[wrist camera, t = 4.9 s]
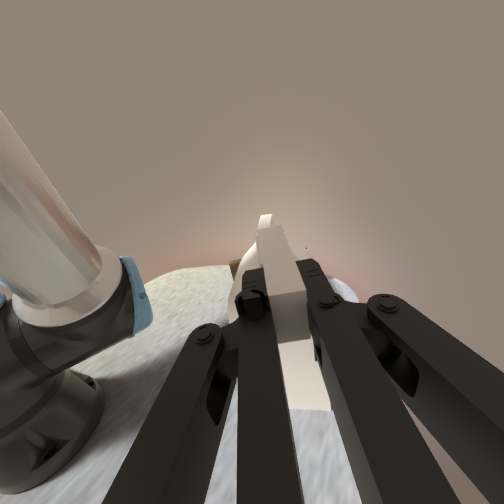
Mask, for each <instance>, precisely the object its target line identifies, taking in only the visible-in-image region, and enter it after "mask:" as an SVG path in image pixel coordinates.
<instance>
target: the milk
mask: <svg viewBox="0 0 504 504" xmlns="http://www.w3.org/2000/svg"><path fill="white" fill-rule="evenodd" d="M274 226H275V224H274V221H273V217H272V214H267V215H261V217H260V220H259V224H258V228H257V232H256V235H255V239H256V243H255V244H254V245H253V246H252V247H251V248H250V249H249V250H248V251H247V253H246V254H245V256H244V257H243V259H242V260H241V262H240V264H239V267H238V270H237V273H236V276H235V280H234V283H233V286H232V289H231V292H230V295H229V298H228V308H227V314H228V319H229V324H230V323H232V322H234V321H235V320H236V319H237V318H238V317H239V316H238V312H237V309H236V305H235V302H234V301H235V297H236V296H237V295H238V294H239V293H240V292H241V291H242V276H243V274H244V272H245V271H246V270H252V269H258V268H263V261H262V254H261V248H260V241H259V234H258V229H264V228H269V227H274ZM286 239H287V241H288V244H289V246H290V249H291V252H292V254H293V257H294V259H295V261H299V260H304V259H310V258H312V259H313V256H312V255H311V253H310V252H309V251H308V250H307V249H306V248H304V247H303V246H302V245H300V244H298V243H296V242H295V241H293V240H292V239H290V238H288V237H287V236H286ZM310 334H311V333H310ZM278 348H279V353H280V359H281V365H282V371H283V377H284V383H285V389H286V395H287V401H288V407H289V409H307V410H330V411H331V405H330V399H329V396H328V393H327V390H326V386H325V383H324V380H323V377H322V374H321V371H320V367H319V364H318V361H315V356H314V345H313V339H312V336H311V339H306V340H300V341H294V342H287V343H281V344H278Z"/></svg>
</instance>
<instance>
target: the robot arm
mask: <svg viewBox="0 0 504 504" xmlns="http://www.w3.org/2000/svg"><path fill="white" fill-rule="evenodd" d="M258 234H259V241H260V248H261V254H262V261H263V268H258V269H252V270H246V271H245V272H244V274H243V276H242V291H241V292H240V293H239V294H238V295H237V296H236V297H235V301H234V302H235V305H236V309H237V312H238V316H239V317H238V318H237V319H236V320H235V321H234V322H232V323H230V324H229V325H226V326H224V327H222V328H220V327H219V326H218V325H216V324H212V323H209V324H203V325H201V326H199V327H197V328H196V329H195V330H193V331H192V333H191V334H190V335H189V337H188V339H187V341H186V343H185V345H184V347H183V348H182V350H181V352H180V354H179V356H178V358H177V360H176V362H175V364H174V366H173V368H172V370H171V372H170V373H169V375H168V377H167V379H166V381H165V383H164V385H163V387H162V389H161V391H160V393H159V395H158V397H157V398H156V400H155V402H154V404H153V406H152V408H151V410H150V412H149V414H148V416H147V418H146V420H145V421H144V423H143V425H142V427H141V429H140V431H139V433H138V435H137V437H136V439H135V441H134V443H133V445H132V446H131V448H130V450H129V452H128V454H127V456H126V458H125V460H124V462H123V464H122V466H121V468H120V470H119V471H118V473H117V475H116V477H115V479H114V481H113V483H112V485H111V487H110V489H109V491H108V493H107V494H106V496H105V498H104V500H103V502H102V504H204V502H205V498H206V494H207V491H208V487H209V483H210V479H211V475H212V471H213V468H214V464H215V460H216V456H217V452H218V448H219V445H220V441H221V437H222V433H223V429H224V425H225V422H226V418H227V414H228V410H229V406H230V402H231V399H232V395H233V391H234V387H235V383H236V378H237V377H238V427H237V504H305V502H304V496H303V490H302V484H301V478H300V472H299V466H298V461H297V455H296V449H295V443H294V437H293V431H292V425H291V419H290V413H289V407H288V401H287V395H286V389H285V383H284V377H283V371H282V365H281V359H280V353H279V348H278V344H281V343H287V342H294V341H300V340H306V339H311V336H312V339H313V345H314V356H315V361H318V364H319V367H320V371H321V374H322V377H323V380H324V383H325V386H326V390H327V393H328V396H329V399H330V402H331V405H332V409H333V412H334V415H335V418H336V421H337V425H338V428H339V431H340V434H341V437H342V440H343V444H344V447H345V450H346V453H347V456H348V460H349V463H350V466H351V469H352V472H353V475H354V479H355V482H356V485H357V488H358V491H359V494H360V498H361V501H362V504H461V503H460V501H459V500H458V498H457V496H456V495H455V493H454V491H453V489H452V487H451V486H450V484H449V482H448V481H447V479H446V477H445V476H444V473H443V472H442V470H441V468H440V467H439V465H438V463H437V461H436V460H435V458H434V456H433V454H432V453H431V451H430V449H429V447H428V446H427V444H426V442H425V440H424V439H423V437H422V435H421V433H420V432H419V430H418V428H417V427H416V425H415V423H414V421H413V419H412V418H411V416H410V414H409V412H408V411H407V409H406V407H405V405H404V404H403V402H402V401H401V399H402V400H403V401H404V402H405V404H406V405H407V406H408V407H409V408H410V410H411V411H412V412H413V413H414V414H415V415H416V416H417V418H418V419H419V420H420V421H421V422H422V423H423V425H424V426H425V427H426V428H427V429H428V431H429V432H430V433H431V434H432V435H433V437H434V438H435V439H436V440H437V441H438V442H439V444H440V445H441V446H442V447H443V448H444V450H445V451H446V452H447V453H448V454H449V455H450V457H451V458H452V459H453V460H454V461H455V462H456V464H457V465H458V466H459V467H460V468H461V470H462V471H463V472H464V473H465V474H466V475H467V477H468V478H469V479H470V480H471V481H472V482H473V484H474V485H475V486H476V487H477V488H478V489H479V491H480V492H481V493H482V494H483V495H484V497H485V498H486V499H487V500H488V501H489V503H490V504H504V373H503V372H502V371H500V370H499V369H497V368H496V367H495V366H493V365H492V364H491V363H489V362H488V361H486V360H485V359H484V358H482V357H481V356H480V355H478V354H477V353H475V352H474V351H473V350H471V349H470V348H469V347H467V346H466V345H464V344H463V343H462V342H460V341H459V340H458V339H456V338H455V337H453V336H452V335H451V334H449V333H448V332H446V331H445V330H444V329H442V328H441V327H440V326H438V325H437V324H435V323H434V322H433V321H431V320H430V319H429V318H427V317H426V316H424V315H423V314H422V313H420V312H419V311H418V310H416V309H415V308H414V307H412V306H410V305H409V304H408V303H407V302H405V301H404V300H402V299H400V298H399V297H397V296H394V295H390V294H377V295H374V296H372V297H370V298H369V300H368V302H367V304H366V303H354V302H348V301H345V300H344V299H343V298H342V297H341V296H340V295H338V294H337V293H335V292H334V291H333V289H332V287H331V285H330V284H329V282H328V280H327V278H326V276H325V275H324V273H323V271H322V270H321V267H320V265H319V263H318V262H316V261H315V260H313V259H312V258H310V259H304V260H299V261H295V259H294V257H293V254H292V252H291V249H290V246H289V244H288V241H287V239H286V236H285V233H284V231H283V228H282V226H281V225H280V226H274V227H269V228H264V229H258ZM0 284H1V285H3V286H4V287H5V288H7V289H8V290H10V291H11V292H13V298H12V299H10V300H6V296H5V295H4V294H1V293H0V493H1V494H16V493H20V492H23V491H26V490H28V489H31V488H33V487H35V486H36V485H38V484H40V483H42V482H43V481H45V480H46V479H48V478H49V477H51V476H52V475H53V474H55V473H56V472H57V471H59V470H60V469H61V468H62V467H63V466H64V465H65V464H67V463H68V462H69V461H70V460H71V459H72V458H73V457H74V456H75V455H76V453H77V452H78V451H79V450H80V449H81V448H82V446H83V445H84V444H85V443H86V441H87V440H88V439H89V437H90V436H91V434H92V433H93V431H94V429H95V428H96V426H97V424H98V422H99V420H100V417H101V415H102V412H103V409H104V404H105V395H104V391H103V389H102V388H101V386H100V385H99V384H98V383H97V381H96V380H95V379H93V378H92V377H90V376H88V375H85V374H83V373H80V372H78V371H75V370H73V369H70V367H72V366H74V365H76V364H78V363H80V362H82V361H84V360H86V359H88V358H90V357H92V356H94V355H96V354H98V353H100V352H101V351H103V350H105V349H107V348H109V347H111V346H113V345H115V344H117V343H119V342H121V341H123V340H125V339H127V338H132V337H134V336H135V334H137V333H138V332H140V331H142V330H144V329H145V328H147V327H148V326H149V325H150V324H151V323H152V320H153V313H152V309H151V305H150V302H149V299H148V296H147V294H146V293H145V292H146V291H145V288H144V285H143V282H142V280H141V277H140V274H139V272H138V270H137V267H136V265H135V263H134V261H133V259H132V258H131V257H130V256H119V257H117V256H116V255H115V254H114V253H113V252H112V251H111V250H109V249H107V248H104V247H101V246H97V245H93V243H92V242H91V240H90V239H89V237H88V236H87V235H86V233H85V232H84V230H83V229H82V227H81V226H80V224H79V223H78V221H77V220H76V219H75V217H74V216H73V214H72V213H71V212H70V210H69V208H68V207H67V205H66V204H65V203H64V201H63V200H62V198H61V197H60V195H59V194H58V193H57V191H56V189H55V188H54V187H53V186H52V184H51V183H50V181H49V179H48V178H47V176H46V175H45V173H44V172H43V171H42V169H41V168H40V166H39V165H38V163H37V162H36V160H35V159H34V158H33V156H32V155H31V153H30V152H29V150H28V149H27V147H26V146H25V145H24V143H23V141H22V140H21V139H20V137H19V136H18V134H17V133H16V131H15V130H14V128H13V127H12V125H11V124H10V123H9V121H8V120H7V118H6V117H5V115H4V114H3V112H2V111H1V109H0ZM310 333H311V334H310Z"/></svg>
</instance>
